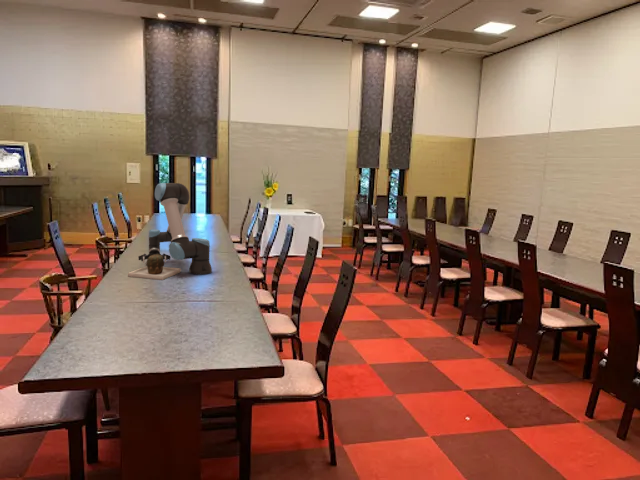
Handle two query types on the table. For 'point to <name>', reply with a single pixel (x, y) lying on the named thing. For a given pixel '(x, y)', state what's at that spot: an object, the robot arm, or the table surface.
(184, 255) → the robot arm
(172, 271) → the tray
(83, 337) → the table surface
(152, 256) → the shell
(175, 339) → the table surface
